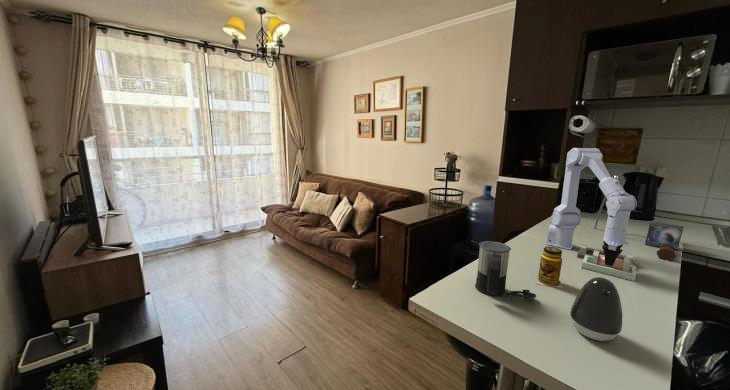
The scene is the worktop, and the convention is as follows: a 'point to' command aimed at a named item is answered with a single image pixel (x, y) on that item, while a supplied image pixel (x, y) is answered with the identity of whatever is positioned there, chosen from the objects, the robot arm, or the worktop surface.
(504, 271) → the milk frother
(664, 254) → the brown elongated lump
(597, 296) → the dark grey egg dome
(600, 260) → the fuse
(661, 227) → the picture frame
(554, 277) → the condiment
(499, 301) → the worktop surface
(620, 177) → the juicer
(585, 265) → the parts tray
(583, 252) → the frame
